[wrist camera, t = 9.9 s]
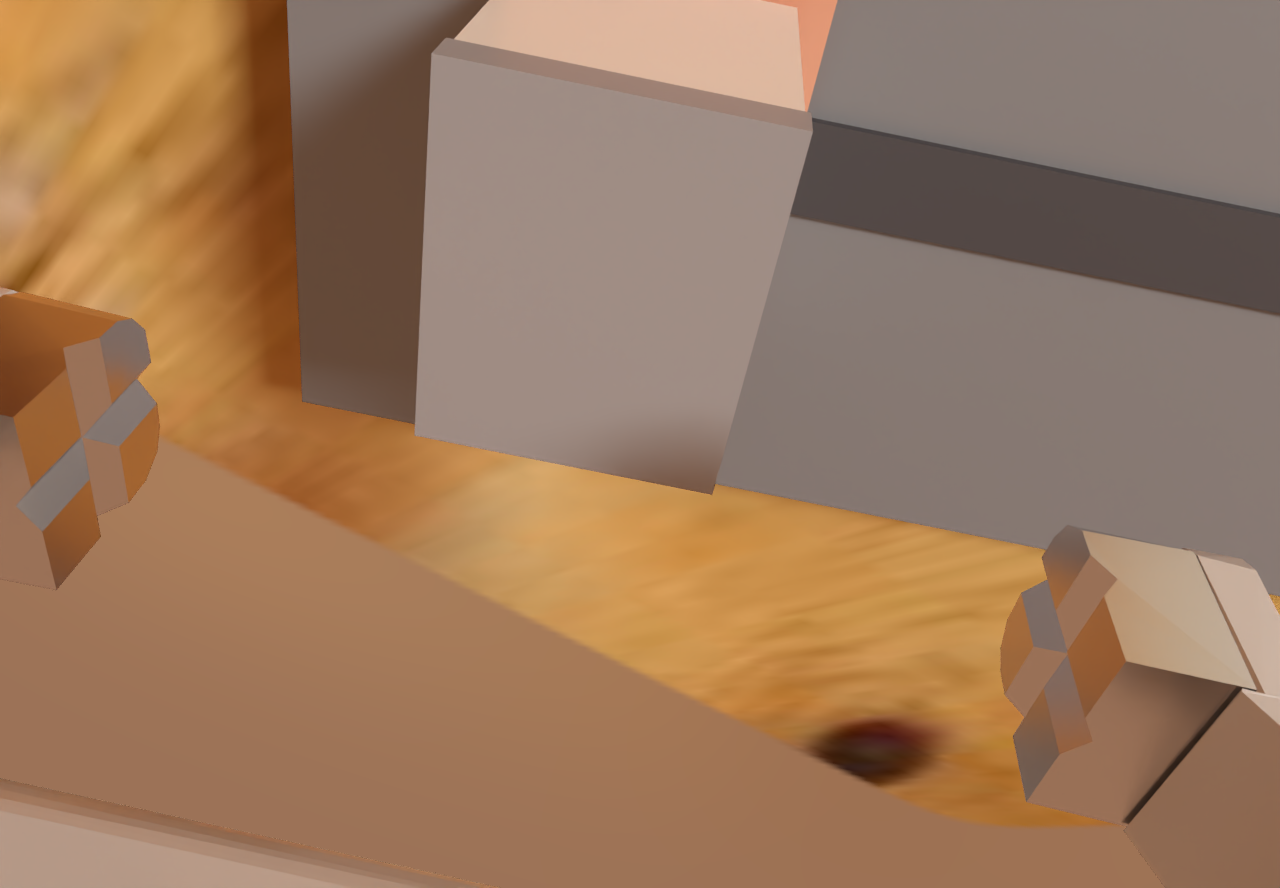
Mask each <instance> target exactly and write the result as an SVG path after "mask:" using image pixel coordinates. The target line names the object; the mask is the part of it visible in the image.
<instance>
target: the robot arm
mask: <svg viewBox="0 0 1280 888" xmlns="http://www.w3.org/2000/svg"><path fill="white" fill-rule="evenodd" d="M150 363H151V359H150V354H149V349H148V343H147V338H146V333H145V329H143V328H142V327H141V326H140V325H139V324H138V323H137V322H135V321H134V320H133V319H132V318H128V317H124V316H119V315H115V314H111V313H107V312H103V311H99V310H95V309H90V308H86V307H82V306H78V305H74V304H70V303H66V302H61V301H57V300H53V299H49V298H45V297H41V296H37V295H33V294H28V293H24V292H20V293H18V292H16V291H14V290H11V289H6V288H2V287H0V579H2V580H7V581H12V582H17V583H23V584H28V585H33V586H38V587H44V588H49V589H54V590H57V588H59V586H60V585H61V584H62V583H63V581H64V580H65V579H66V578H67V577H68V575H69V574H70V573H71V572H72V571H73V569H74V568H75V567H76V566H77V565H78V563H79V562H80V561H81V560H82V558H83V557H84V556H85V555H86V554H87V553H88V551H89V550H90V549H91V548H92V547H93V545H94V544H95V543H96V542H97V541H98V539H99V538H100V537H101V535H100V530H99V524H98V518H97V516H98V515H100V514H103V513H105V512H108V511H110V510H112V509H115V508H117V507H120V506H122V505H124V504H126V503H129V501H130V500H131V499H132V498H133V496H134V495H135V494H136V493H137V491H138V490H139V488H140V487H141V486H142V484H144V482H145V481H146V478H147V476H148V474H149V471H150V469H151V466H152V463H153V461H154V458H155V456H156V453H157V449H158V439H159V429H160V424H159V416H158V408H157V403H156V402H155V401H154V399H153V398H152V397H151V396H150V394H149V393H148V392H147V391H146V390H145V388H144V387H143V386H142V385H141V383H140V382H139V381H138V380H137V378H138V377H139V376H140V375H141V373H142V372H143V371H144V370H145V369H146V368H147V366H148V365H149V364H150ZM1042 560H1043V564H1044V568H1045V572H1046V576H1047V579H1048V580H1046V581H1044V582H1042V583H1040V584H1038V585H1036V586H1034V587H1032V588H1030V589H1028V590H1026V591H1024V592H1022V593H1021V594H1020V596H1019V598H1018V600H1017V602H1016V604H1015V606H1014V608H1013V610H1012V612H1011V614H1010V615H1009V617H1008V619H1007V623H1006V627H1005V632H1004V636H1003V640H1002V645H1001V669H1000V671H1001V677H1002V683H1003V688H1004V694H1005V695H1006V697H1007V698H1008V699H1009V700H1010V701H1011V702H1012V703H1013V705H1014V706H1015V707H1016V708H1017V709H1018V710H1019V711H1020V713H1021V714H1022V715H1023V716H1024V717H1025V718H1024V719H1023V721H1022V722H1021V724H1020V726H1019V727H1018V729H1017V730H1016V732H1015V734H1014V735H1013V739H1014V744H1015V749H1016V754H1017V759H1018V764H1019V769H1020V773H1021V778H1022V783H1023V788H1024V793H1025V798H1026V802H1028V803H1032V804H1037V805H1041V806H1045V807H1049V808H1053V809H1057V810H1061V811H1065V812H1069V813H1073V814H1077V815H1081V816H1085V817H1089V818H1093V819H1097V820H1102V821H1106V822H1110V823H1114V824H1118V825H1122V826H1126V828H1125V829H1124V832H1125V833H1126V835H1127V836H1128V838H1129V839H1130V840H1131V842H1132V843H1133V844H1134V846H1135V847H1136V848H1137V850H1138V851H1139V853H1140V854H1141V855H1142V857H1143V858H1144V859H1145V861H1146V862H1147V864H1148V865H1149V866H1150V868H1151V869H1152V870H1153V872H1154V873H1155V875H1156V876H1157V877H1158V878H1159V880H1160V881H1161V883H1162V884H1163V885H1164V887H1165V888H1280V616H1279V614H1278V612H1277V610H1276V608H1275V606H1274V604H1273V602H1272V600H1271V598H1270V596H1269V594H1268V592H1267V590H1266V588H1265V587H1264V585H1263V583H1262V581H1261V579H1260V577H1259V575H1258V573H1257V571H1256V570H1255V569H1254V568H1253V567H1252V566H1250V565H1249V564H1248V563H1247V562H1245V561H1244V560H1243V559H1240V558H1235V557H1230V556H1224V555H1219V554H1214V553H1209V552H1203V551H1198V550H1193V549H1188V548H1182V549H1178V548H1173V547H1169V546H1164V545H1159V544H1155V543H1150V542H1145V541H1141V540H1136V539H1131V538H1126V537H1122V536H1117V535H1112V534H1108V533H1103V532H1098V531H1094V530H1089V529H1084V528H1080V527H1075V526H1070V525H1067V526H1066V527H1065V528H1063V529H1062V530H1061V531H1060V532H1059V533H1058V534H1057V535H1056V536H1054V538H1053V540H1052V541H1051V543H1050V545H1049V546H1048V548H1047V550H1046V551H1045V553H1044V555H1043V556H1042ZM0 888H500V887H495V886H490V885H486V884H481V883H477V882H472V881H467V880H463V879H459V878H454V877H449V876H445V875H440V874H436V873H431V872H427V871H422V870H417V869H412V868H408V867H404V866H399V865H395V864H390V863H386V862H381V861H376V860H372V859H367V858H363V857H358V856H353V855H349V854H344V853H340V852H335V851H330V850H326V849H322V848H317V847H312V846H308V845H303V844H299V843H294V842H290V841H285V840H280V839H276V838H271V837H267V836H262V835H258V834H253V833H248V832H244V831H239V830H235V829H230V828H225V827H221V826H216V825H212V824H207V823H203V822H198V821H194V820H189V819H184V818H180V817H175V816H171V815H166V814H161V813H156V812H152V811H148V810H143V809H138V808H134V807H130V806H125V805H120V804H116V803H111V802H107V801H101V800H97V799H93V798H88V797H84V796H79V795H74V794H70V793H65V792H61V791H56V790H51V789H47V788H42V787H37V786H33V785H29V784H24V783H19V782H15V781H10V780H6V779H1V778H0Z"/></svg>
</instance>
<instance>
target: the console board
mask: <svg viewBox="0 0 1280 888" xmlns="http://www.w3.org/2000/svg"><path fill="white" fill-rule="evenodd" d="M488 1H489V0H287V16H288V42H289V68H290V94H291V121H292V147H293V173H294V200H295V226H296V252H297V278H298V305H299V331H300V357H301V383H302V402H307V403H312V404H317V405H322V406H327V407H332V408H337V409H342V410H347V411H352V412H357V413H362V414H367V415H372V416H377V417H382V418H387V419H392V420H397V421H402V422H407V423H412V424H415V414H416V391H417V369H418V346H419V324H420V301H421V279H422V256H423V234H424V211H425V189H426V166H427V144H428V121H429V99H430V76H431V54H432V52H433V51H434V50H435V49H436V48H437V47H438V46H439V45H440V44H441V42H442V41H443V40H444V39H445V38H451V39H454V38H455V37H456V36H457V35H458V34H459V33H460V32H461V31H462V30H463V29H464V27H465V26H466V25H467V24H468V23H469V22H470V21H471V20H472V19H473V17H474V16H475V15H476V14H477V13H478V12H479V11H480V10H481V9H482V8H483V6H484V5H485V4H486V3H487V2H488ZM763 1H767V2H772V3H777V4H782V5H787V6H791V7H796V8H797V11H798V24H799V37H800V50H801V63H802V76H803V89H804V102H805V112H810V113H811V116H812V127H813V133H812V137H811V140H810V144H809V148H808V151H807V155H806V158H805V162H804V166H803V169H802V173H801V176H800V180H799V184H798V187H797V191H796V194H795V198H794V202H793V205H792V209H791V212H790V216H789V220H788V223H787V227H786V230H785V234H784V238H783V241H782V245H781V249H780V252H779V256H778V259H777V263H776V267H775V270H774V274H773V277H772V281H771V285H770V288H769V292H768V295H767V299H766V303H765V306H764V310H763V313H762V317H761V321H760V324H759V328H758V331H757V335H756V339H755V342H754V346H753V349H752V353H751V357H750V360H749V364H748V367H747V371H746V375H745V378H744V382H743V385H742V389H741V393H740V396H739V400H738V403H737V407H736V411H735V414H734V418H733V421H732V425H731V429H730V432H729V436H728V439H727V443H726V447H725V450H724V454H723V457H722V461H721V465H720V468H719V472H718V475H717V479H716V483H715V484H719V485H724V486H729V487H734V488H739V489H744V490H749V491H754V492H759V493H764V494H769V495H774V496H779V497H784V498H789V499H794V500H799V501H804V502H809V503H814V504H819V505H824V506H830V507H835V508H840V509H845V510H850V511H855V512H860V513H865V514H870V515H875V516H880V517H885V518H890V519H895V520H900V521H905V522H910V523H915V524H920V525H925V526H930V527H935V528H940V529H945V530H950V531H955V532H960V533H965V534H970V535H975V536H980V537H985V538H990V539H995V540H1000V541H1005V542H1010V543H1015V544H1021V545H1026V546H1031V547H1036V548H1041V549H1046V550H1047V548H1048V546H1049V545H1050V543H1051V541H1052V540H1053V538H1054V536H1056V535H1057V534H1058V533H1059V532H1060V531H1061V530H1062V529H1063V528H1065V527H1066V526H1067V525H1070V526H1075V527H1080V528H1084V529H1089V530H1094V531H1098V532H1103V533H1108V534H1112V535H1117V536H1122V537H1126V538H1131V539H1136V540H1141V541H1145V542H1150V543H1155V544H1159V545H1164V546H1169V547H1173V548H1178V549H1182V548H1188V549H1193V550H1198V551H1203V552H1209V553H1214V554H1219V555H1224V556H1230V557H1235V558H1240V559H1243V560H1244V561H1245V562H1247V563H1248V564H1249V565H1250V566H1252V567H1253V568H1254V569H1255V570H1256V571H1257V573H1258V575H1259V577H1260V579H1261V581H1262V583H1263V585H1264V587H1265V588H1266V590H1267V592H1268V594H1272V595H1277V596H1280V0H763Z"/></svg>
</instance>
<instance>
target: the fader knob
mask: <svg viewBox="0 0 1280 888" xmlns="http://www.w3.org/2000/svg"><path fill="white" fill-rule="evenodd" d="M812 133H813V127H812V116H811V113H810V112H805V102H804V89H803V76H802V63H801V50H800V37H799V24H798V11H797V8H796V7H791V6H787V5H782V4H777V3H772V2H767V1H763V0H489V1H488V2H487V3H486V4H485V5H484V6H483V8H482V9H481V10H480V11H479V12H478V13H477V14H476V15H475V16H474V17H473V19H472V20H471V21H470V22H469V23H468V24H467V25H466V26H465V27H464V29H463V30H462V31H461V32H460V33H459V34H458V35H457V36H456V37H455V38H454V39H451V38H445V39H444V40H443V41H442V42H441V44H440V45H439V46H438V47H437V48H436V49H435V50H434V51H433V52H432V54H431V76H430V99H429V121H428V144H427V166H426V189H425V211H424V234H423V256H422V279H421V301H420V324H419V346H418V369H417V391H416V414H415V436H420V437H425V438H430V439H435V440H440V441H445V442H450V443H455V444H460V445H465V446H470V447H475V448H480V449H485V450H490V451H495V452H500V453H505V454H510V455H515V456H520V457H525V458H530V459H535V460H540V461H545V462H550V463H555V464H560V465H565V466H571V467H576V468H581V469H586V470H591V471H596V472H601V473H606V474H611V475H616V476H621V477H626V478H631V479H636V480H641V481H646V482H651V483H656V484H661V485H666V486H671V487H676V488H681V489H686V490H691V491H696V492H701V493H706V494H711V495H712V493H713V490H714V486H715V483H716V479H717V475H718V472H719V468H720V465H721V461H722V457H723V454H724V450H725V447H726V443H727V439H728V436H729V432H730V429H731V425H732V421H733V418H734V414H735V411H736V407H737V403H738V400H739V396H740V393H741V389H742V385H743V382H744V378H745V375H746V371H747V367H748V364H749V360H750V357H751V353H752V349H753V346H754V342H755V339H756V335H757V331H758V328H759V324H760V321H761V317H762V313H763V310H764V306H765V303H766V299H767V295H768V292H769V288H770V285H771V281H772V277H773V274H774V270H775V267H776V263H777V259H778V256H779V252H780V249H781V245H782V241H783V238H784V234H785V230H786V227H787V223H788V220H789V216H790V212H791V209H792V205H793V202H794V198H795V194H796V191H797V187H798V184H799V180H800V176H801V173H802V169H803V166H804V162H805V158H806V155H807V151H808V148H809V144H810V140H811V137H812Z"/></svg>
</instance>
